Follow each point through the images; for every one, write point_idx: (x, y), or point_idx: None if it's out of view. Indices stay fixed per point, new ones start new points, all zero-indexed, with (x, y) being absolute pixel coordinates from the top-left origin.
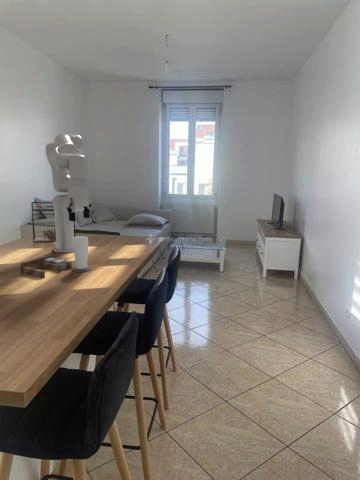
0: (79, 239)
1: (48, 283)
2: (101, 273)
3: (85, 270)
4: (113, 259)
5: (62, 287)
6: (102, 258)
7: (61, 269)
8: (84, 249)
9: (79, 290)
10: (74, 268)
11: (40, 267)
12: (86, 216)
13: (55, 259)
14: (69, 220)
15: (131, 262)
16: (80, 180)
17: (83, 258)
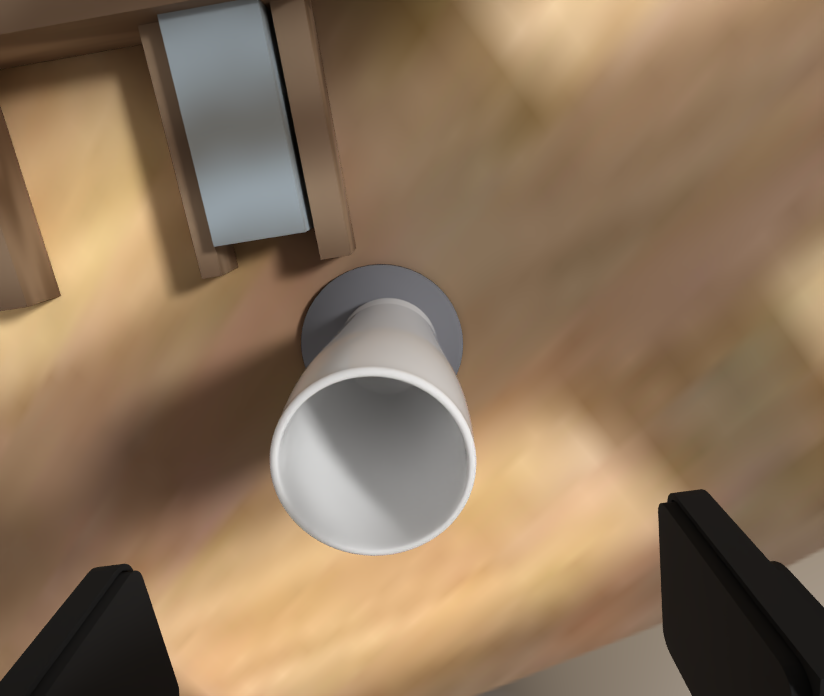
0: (300, 525)
1: (17, 429)
2: None
3: None
4: (776, 325)
5: (51, 555)
6: (750, 219)
7: (230, 270)
8: (368, 480)
9: None
10: (344, 303)
11: (141, 40)
12: (679, 616)
13: (245, 119)
14: (102, 576)
15: (778, 502)
16: None
17: (366, 428)
